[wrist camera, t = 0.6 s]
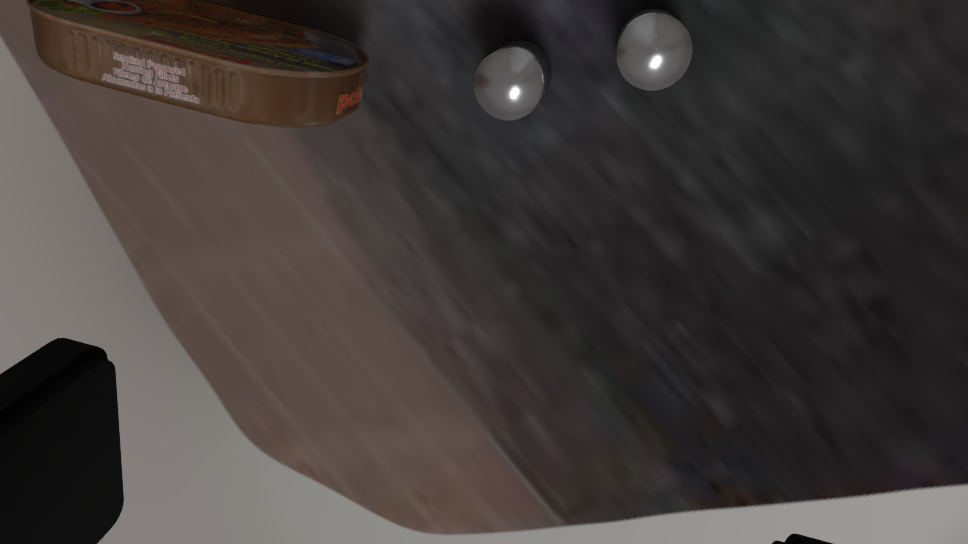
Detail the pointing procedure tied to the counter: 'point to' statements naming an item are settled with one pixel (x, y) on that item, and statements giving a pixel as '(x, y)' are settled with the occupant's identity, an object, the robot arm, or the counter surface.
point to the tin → (204, 58)
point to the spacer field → (640, 56)
